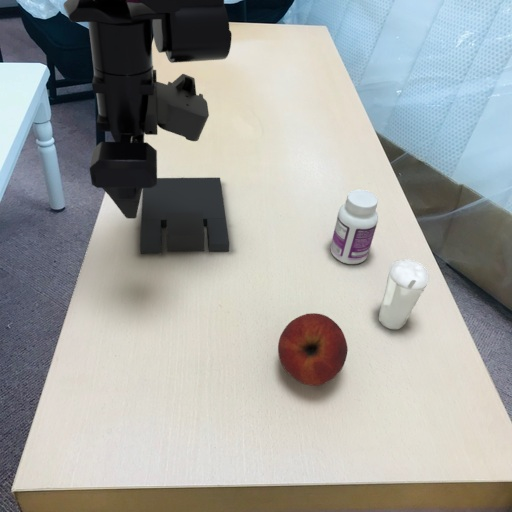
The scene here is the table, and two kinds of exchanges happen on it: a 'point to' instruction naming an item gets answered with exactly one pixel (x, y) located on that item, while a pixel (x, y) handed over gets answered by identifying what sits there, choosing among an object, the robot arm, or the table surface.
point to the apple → (312, 349)
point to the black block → (185, 231)
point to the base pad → (183, 210)
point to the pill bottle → (355, 227)
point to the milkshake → (402, 292)
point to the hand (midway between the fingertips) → (132, 193)
